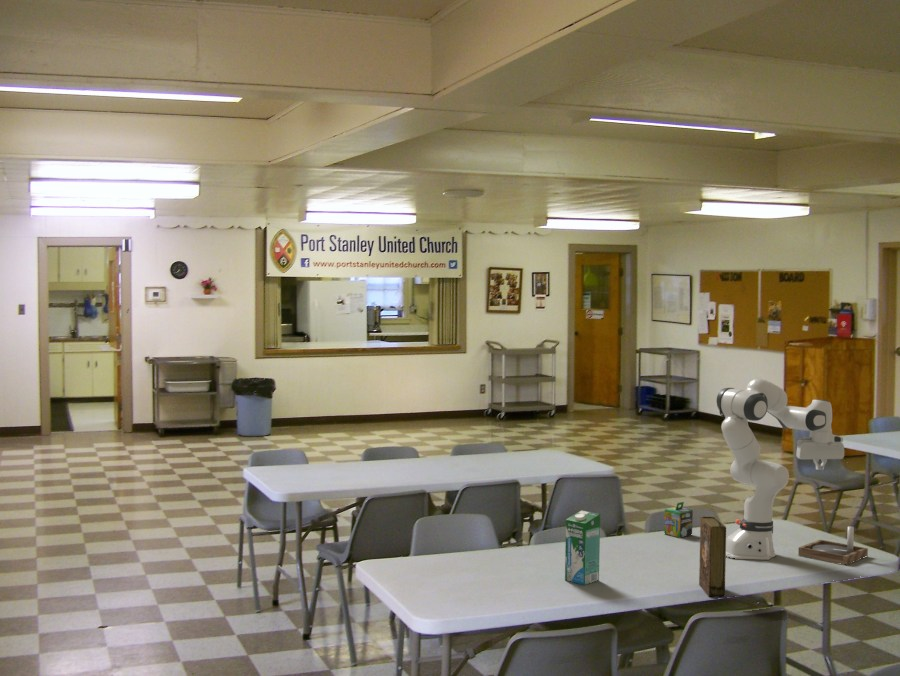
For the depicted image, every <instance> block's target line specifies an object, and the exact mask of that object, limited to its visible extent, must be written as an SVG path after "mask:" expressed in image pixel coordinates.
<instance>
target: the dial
mask: <svg viewBox="0 0 900 676" xmlns="http://www.w3.org/2000/svg"><path fill="white" fill-rule="evenodd" d="M846 532H847V533H846V534H847V537H846V539H847V540H846V544H847V547H843V546H838V545H815V546H813V547H812V549H814V550H819V551H825V552H830V553H835V554H840V555H847V554H850V553H852V552H854V550H853V546H854V543H855V542H854V540H855V539H854V535H855V527H854V526H851V525H850V526H847V531H846Z"/></svg>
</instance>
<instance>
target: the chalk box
mask: <svg viewBox="0 0 900 676" xmlns="http://www.w3.org/2000/svg"><path fill="white" fill-rule="evenodd" d="M684 503H685V502H684V501H681V502H677V504H676V506H672V507H669V508H665V509H664V529H663V531H664V533H665V534H664V533H663V534H664V535H666V534H668V535H667V536H670V535H671V536H670V537H674V536H676V538H678V537H681V538H685V537H684V536H686V537H689V536H688V535H691V534H692V535H693V513H694V510H693V509H689V508H685V507H684ZM692 535H691V536H692Z"/></svg>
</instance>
